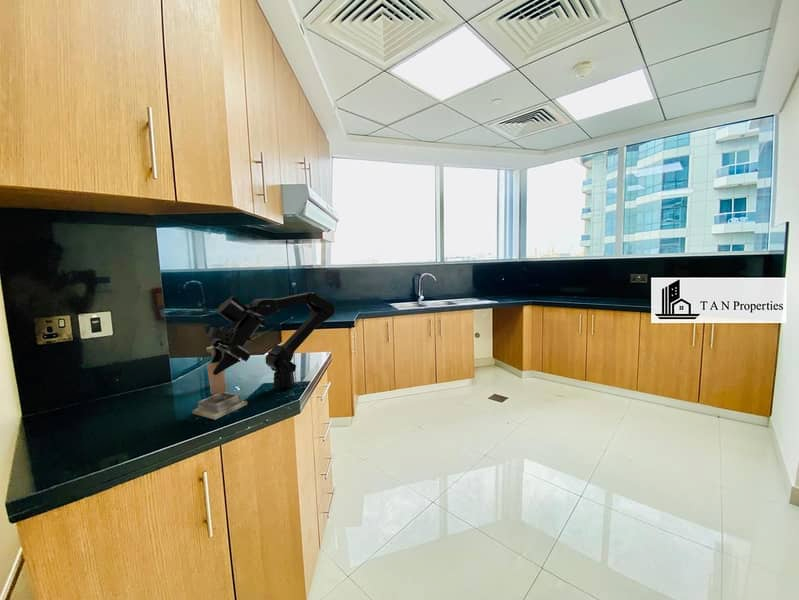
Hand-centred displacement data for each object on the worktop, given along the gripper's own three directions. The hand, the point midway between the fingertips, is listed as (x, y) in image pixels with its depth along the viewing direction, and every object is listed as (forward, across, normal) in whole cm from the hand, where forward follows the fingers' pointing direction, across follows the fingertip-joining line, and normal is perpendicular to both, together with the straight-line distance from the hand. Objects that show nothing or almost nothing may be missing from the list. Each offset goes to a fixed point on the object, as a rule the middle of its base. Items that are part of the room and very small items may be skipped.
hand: (211, 372), depth 101 cm
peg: (+4, 0, +6) cm, 7 cm away
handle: (+2, -25, +16) cm, 30 cm away
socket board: (+8, 0, +10) cm, 12 cm away
